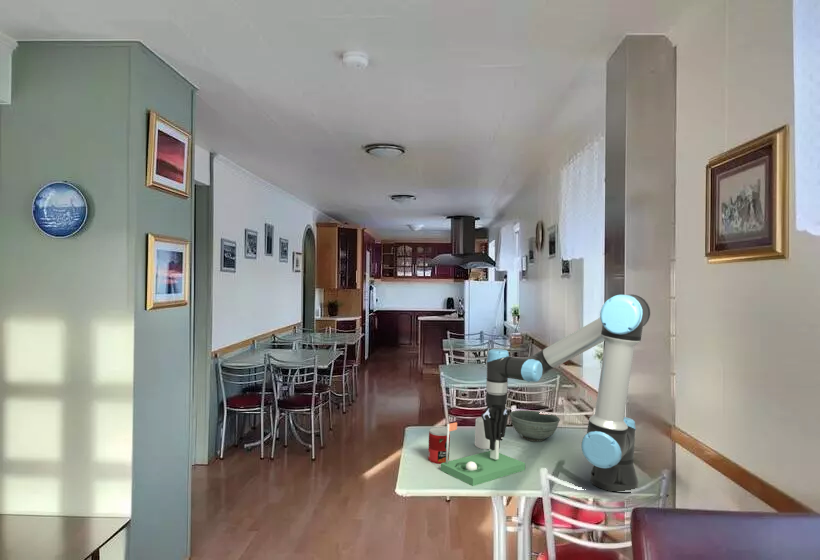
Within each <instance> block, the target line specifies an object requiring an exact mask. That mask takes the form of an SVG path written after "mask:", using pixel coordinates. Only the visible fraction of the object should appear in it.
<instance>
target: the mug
mask: <svg viewBox="0 0 820 560" xmlns="http://www.w3.org/2000/svg"><path fill="white" fill-rule="evenodd" d="M474 429H475V430H474V446H475V447H476V448H477V449H481V450H485V449H490V440H488V439H486V437H485V430H484V423H483V419H482V417H481V416H480V417H477V418H475V428H474ZM503 438H504V437H502V439H503Z"/></svg>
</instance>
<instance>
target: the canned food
mask: <svg viewBox="0 0 820 560" xmlns="http://www.w3.org/2000/svg"><path fill="white" fill-rule="evenodd" d="M450 438H451V431H449V448H448V461H450V445H451V444H450V443H451V439H450ZM446 448H447V428H444V427H431V428H430V429H429V431H428V451H427V452H428V453H427V455H428V456H427V458H428V461H429V462H430V463H432V464H437V465H441V463H444V462H446Z"/></svg>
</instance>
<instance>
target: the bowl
mask: <svg viewBox="0 0 820 560" xmlns="http://www.w3.org/2000/svg"><path fill="white" fill-rule="evenodd" d="M540 412H542V413H543V412H544V411H538V410H537V411H535V410H526V409H525V410H524V409H522V410H519V409H518V410H513V411H510V414H509V416H510V418H511V424H512V426H513V428H514V431H516V432H517V434H519V435H521V437H522V438H523V439H524V440H527V441H531V442H543V441H545V439H546V438H549V437H551V436H552V435H554V433H555V432H556V430H557V428H558V426H559V422H560V420H561V419H560V418H559V417H558V416H556V415H554V414H551V413H550V414H551V415H540V414H539V413H540Z"/></svg>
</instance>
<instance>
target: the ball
mask: <svg viewBox="0 0 820 560" xmlns="http://www.w3.org/2000/svg"><path fill="white" fill-rule="evenodd" d="M466 470H477V465H476V463H474V462H472V461H470V462H468V463H467V464H466Z"/></svg>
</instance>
